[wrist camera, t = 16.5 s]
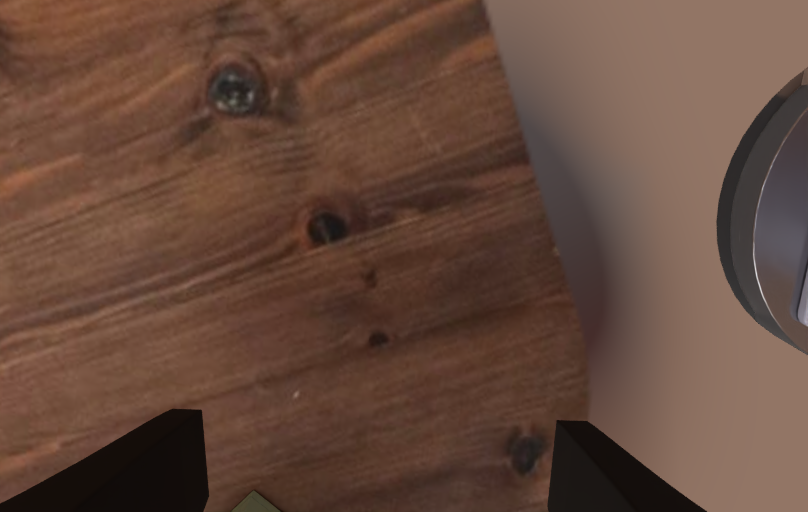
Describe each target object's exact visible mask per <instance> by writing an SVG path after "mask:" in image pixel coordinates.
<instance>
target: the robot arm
mask: <svg viewBox="0 0 808 512" xmlns="http://www.w3.org/2000/svg"><path fill="white" fill-rule="evenodd" d="M798 319H799V321H800V322H801V323H802V324H804V325H806V326H808V269H807V273H806V278H805V282H804V287H803V291H802V296H801V300H800V304H799V309H798ZM208 497H209V490H208V478H207V466H206V454H205V442H204V430H203V418H202V410H192V409H171V410H169V411H167V412H165V413H163V414H161V415H159V416H157V417H155V418H153V419H151V420H150V421H148V422H146V423H144V424H143V425H141V426H139V427H138V428H136V429H134V430H132V431H131V432H129V433H127V434H126V435H124V436H122V437H120V438H119V439H117V440H115V441H114V442H112V443H110V444H109V445H107V446H105V447H103V448H102V449H100V450H98V451H97V452H95V453H93V454H91V455H90V456H88V457H86V458H85V459H83V460H81V461H79V462H78V463H76V464H74V465H72V466H70V467H68V468H67V469H65V470H63V471H61V472H59V473H57V474H55V475H54V476H52V477H50V478H48V479H46V480H44V481H43V482H41V483H39V484H37V485H35V486H33V487H31V488H30V489H28V490H26V491H24V492H22V493H20V494H18V495H16V496H14V497H12V498H10V499H9V500H7V501H5V502H2V503H0V512H203V511H204V508H205V505H206V503H207V500H208ZM548 511H549V512H707V511H705V510H704V509H703V508H701V507H700V506H698V505H697V504H695V503H694V502H692V501H691V500H690V499H688V498H687V497H685V496H684V495H683V494H681V493H680V492H679V491H677V490H676V489H675V488H673V487H671V486H670V485H669V484H668V483H666V482H665V481H664V480H662V479H661V478H660V477H658V476H657V475H656V474H655V473H653V472H652V471H651V470H650V469H648V468H647V467H646V466H644V465H643V464H642V463H641V462H639V461H638V460H637V459H635V458H634V457H633V456H632V455H630V454H629V453H628V452H627V451H625V450H624V449H623V448H622V447H620V446H619V445H618V444H617V443H615V442H614V441H613V440H612V439H610V438H609V437H608V436H606V435H605V434H604V433H603V432H601V431H600V430H599V429H598V428H596V427H595V426H593V425H592V424H590V423H589V422H588V421H564V420H557V423H556V432H555V441H554V451H553V460H552V469H551V479H550V488H549V497H548Z"/></svg>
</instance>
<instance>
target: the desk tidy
mask: <svg viewBox="0 0 808 512" xmlns="http://www.w3.org/2000/svg"><path fill="white" fill-rule="evenodd" d="M231 512H281V511H280V510H278V509H277V508H276V507H274V506H273V505H272V504H271V503H269V502H268V501H267V500H266V499H264V498H263V497H262V496H260V495H259V494H258V493H257V492H255V491H254V490H253V491H252V492H251V493H250V494H249V495H248V496H247V497H246V498H245V499H244V500H243V501H242V502H240V503H239V504H238V505H237V506H236V507H235V508H234V509H233V510H232V511H231Z"/></svg>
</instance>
